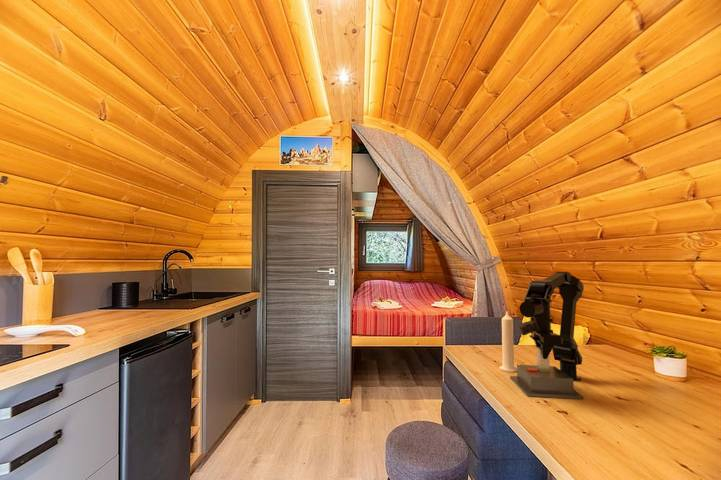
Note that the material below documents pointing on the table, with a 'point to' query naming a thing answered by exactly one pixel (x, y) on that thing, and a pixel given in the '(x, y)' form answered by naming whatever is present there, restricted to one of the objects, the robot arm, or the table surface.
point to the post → (542, 362)
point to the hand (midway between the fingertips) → (542, 357)
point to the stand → (545, 383)
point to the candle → (507, 344)
